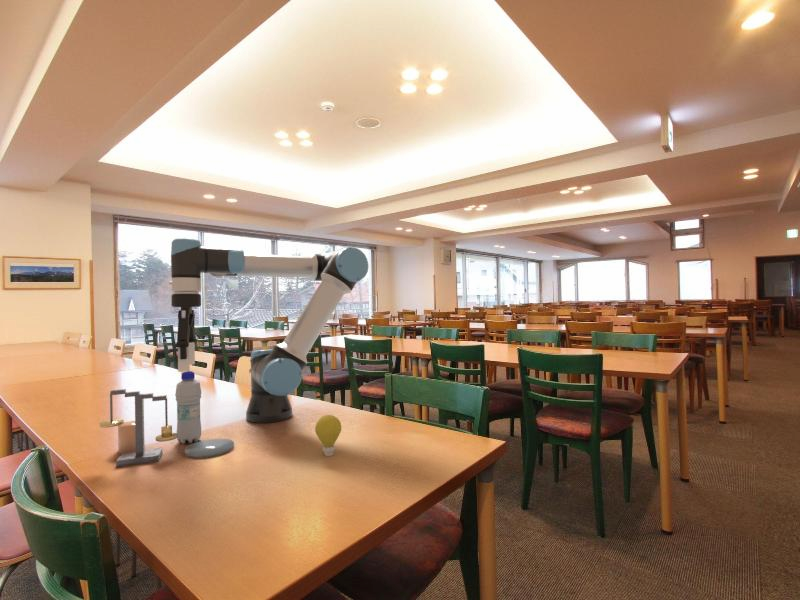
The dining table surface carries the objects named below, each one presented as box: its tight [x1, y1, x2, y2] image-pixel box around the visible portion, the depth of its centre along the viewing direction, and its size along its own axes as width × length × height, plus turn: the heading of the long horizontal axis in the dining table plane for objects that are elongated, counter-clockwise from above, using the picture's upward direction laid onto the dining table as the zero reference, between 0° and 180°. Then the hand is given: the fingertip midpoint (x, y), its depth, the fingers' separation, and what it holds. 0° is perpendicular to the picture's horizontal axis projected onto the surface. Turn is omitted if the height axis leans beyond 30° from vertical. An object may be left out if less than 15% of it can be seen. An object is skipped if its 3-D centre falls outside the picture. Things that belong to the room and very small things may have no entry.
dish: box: [184, 438, 235, 459], centre depth 113 cm, size 12×12×1 cm
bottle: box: [174, 371, 202, 445], centre depth 120 cm, size 7×7×20 cm
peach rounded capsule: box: [117, 420, 136, 454], centre depth 114 cm, size 6×6×7 cm
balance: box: [98, 388, 178, 468], centre depth 106 cm, size 17×6×18 cm, turn 111°
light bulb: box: [314, 414, 342, 457], centre depth 108 cm, size 7×7×10 cm
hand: (186, 367), depth 120 cm, fingers open, 13 cm apart
